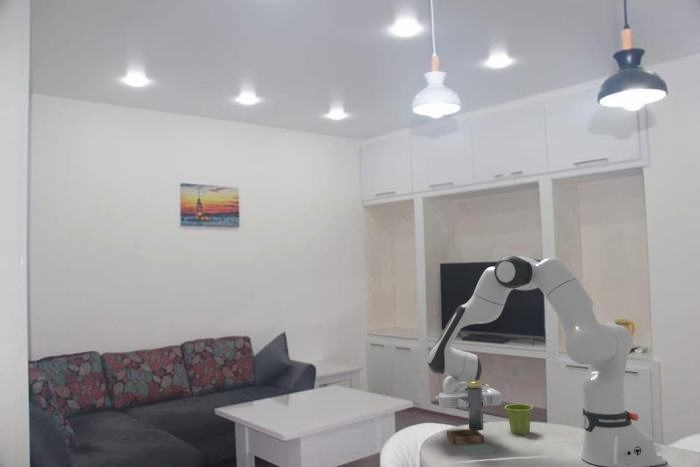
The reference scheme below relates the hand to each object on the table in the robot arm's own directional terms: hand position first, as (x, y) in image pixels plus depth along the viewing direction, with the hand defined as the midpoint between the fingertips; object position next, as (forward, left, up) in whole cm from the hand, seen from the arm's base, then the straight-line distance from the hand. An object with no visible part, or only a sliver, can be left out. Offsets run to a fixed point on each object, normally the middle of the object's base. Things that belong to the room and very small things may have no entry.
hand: (476, 404), depth 181 cm
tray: (+1, -12, -14) cm, 19 cm away
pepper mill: (0, -1, -8) cm, 8 cm away
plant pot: (-20, -18, -15) cm, 31 cm away
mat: (0, -1, -14) cm, 15 cm away
